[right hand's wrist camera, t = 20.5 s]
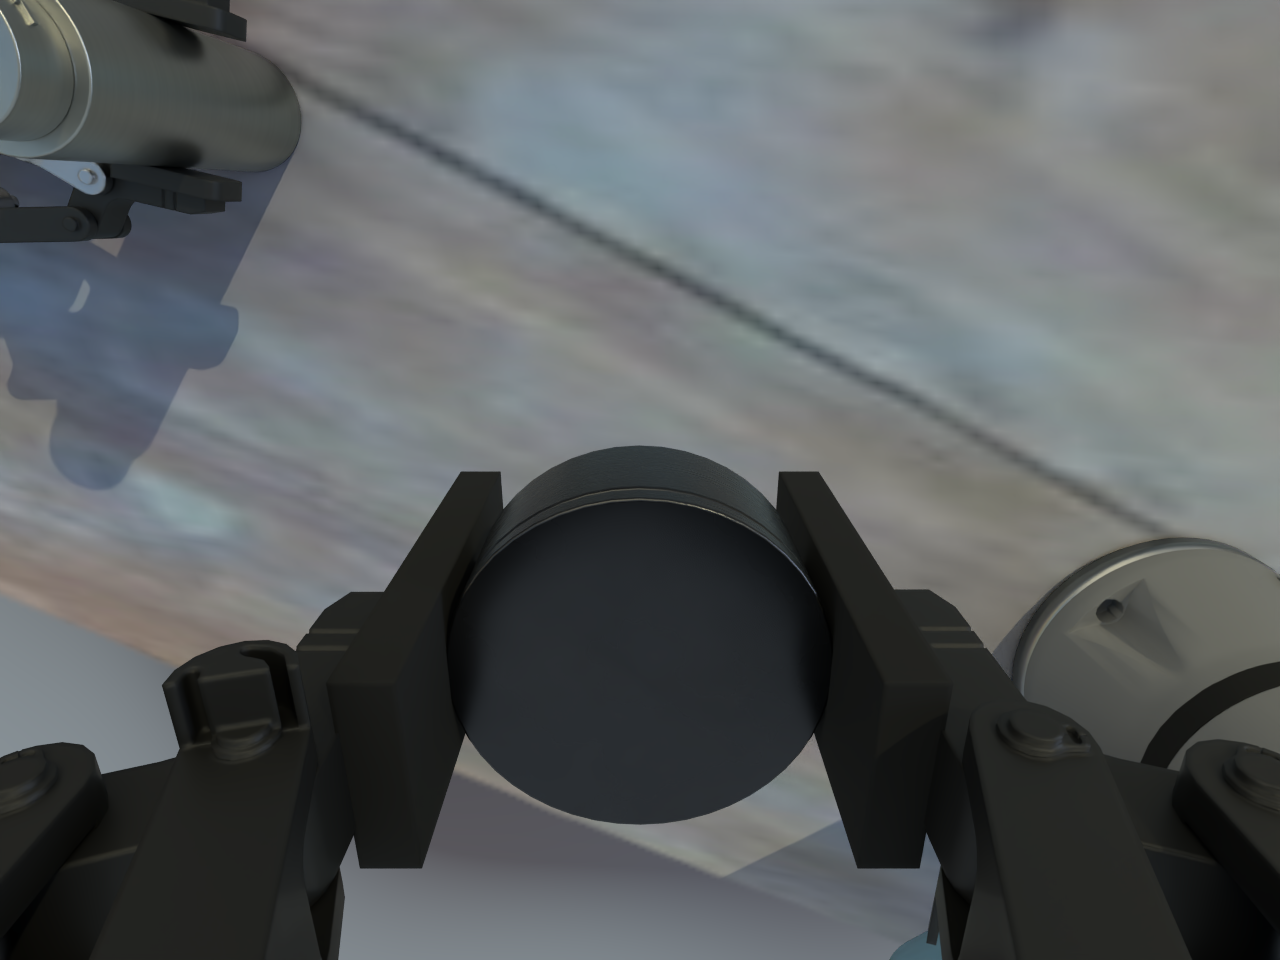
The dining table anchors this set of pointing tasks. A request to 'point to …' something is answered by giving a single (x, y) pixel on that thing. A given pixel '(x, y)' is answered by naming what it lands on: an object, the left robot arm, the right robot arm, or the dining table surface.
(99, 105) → the jar
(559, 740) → the lid
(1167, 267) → the dining table surface
